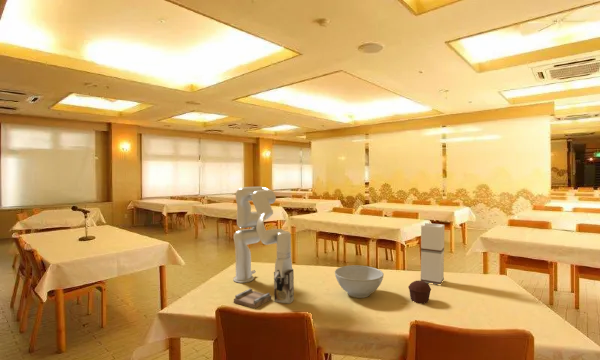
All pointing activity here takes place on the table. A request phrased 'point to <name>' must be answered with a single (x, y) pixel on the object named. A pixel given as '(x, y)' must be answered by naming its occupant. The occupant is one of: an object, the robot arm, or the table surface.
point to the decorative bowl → (359, 280)
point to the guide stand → (251, 298)
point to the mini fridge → (432, 253)
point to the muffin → (419, 291)
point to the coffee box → (285, 288)
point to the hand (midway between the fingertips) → (284, 287)
